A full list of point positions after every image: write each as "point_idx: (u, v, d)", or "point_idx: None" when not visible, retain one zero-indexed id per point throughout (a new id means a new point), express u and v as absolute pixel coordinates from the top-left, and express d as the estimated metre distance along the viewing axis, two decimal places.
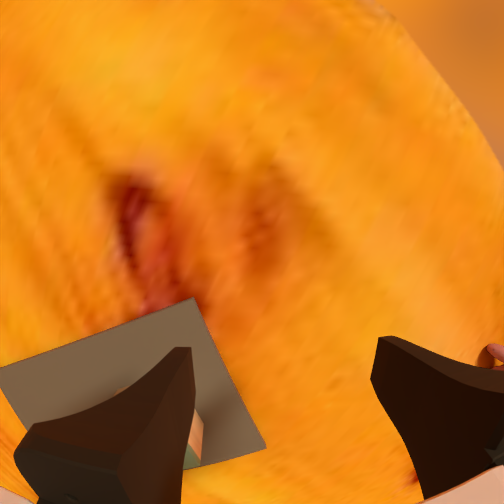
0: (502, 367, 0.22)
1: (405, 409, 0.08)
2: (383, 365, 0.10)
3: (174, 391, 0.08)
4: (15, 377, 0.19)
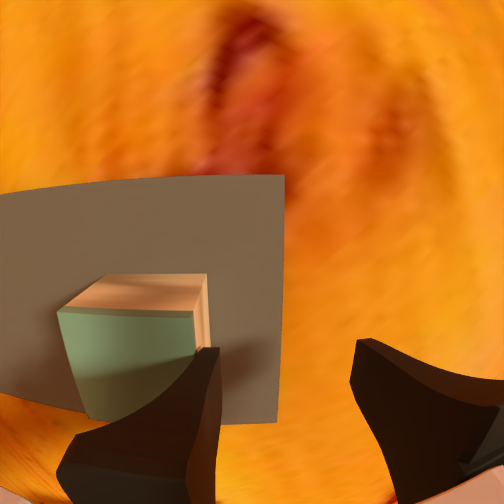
0: None
1: (381, 415, 0.08)
2: (361, 368, 0.10)
3: (210, 392, 0.08)
4: None
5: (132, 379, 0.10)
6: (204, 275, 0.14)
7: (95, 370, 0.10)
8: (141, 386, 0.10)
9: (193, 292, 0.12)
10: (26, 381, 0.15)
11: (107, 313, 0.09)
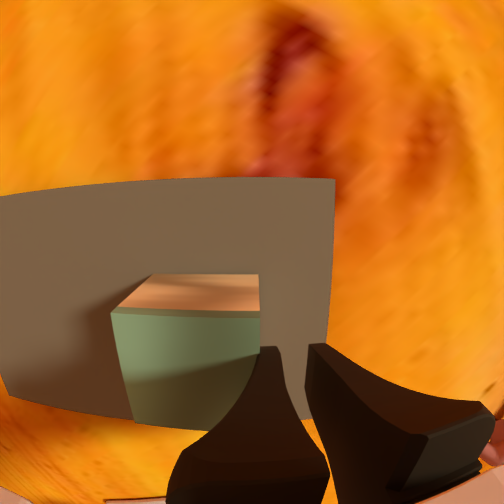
0: None
1: (327, 424, 0.08)
2: (311, 374, 0.10)
3: None
4: None
5: (190, 381, 0.10)
6: (256, 276, 0.14)
7: (149, 373, 0.10)
8: (200, 389, 0.10)
9: (253, 293, 0.12)
10: (54, 387, 0.15)
11: (169, 314, 0.10)
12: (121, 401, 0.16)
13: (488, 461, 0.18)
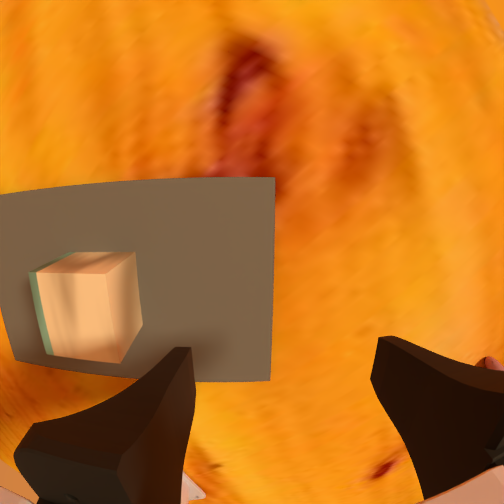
0: None
1: (405, 409, 0.08)
2: (383, 365, 0.10)
3: (174, 391, 0.08)
4: (12, 209, 0.17)
5: None
6: (100, 273, 0.14)
7: None
8: None
9: (62, 271, 0.14)
10: None
11: (55, 259, 0.16)
12: None
13: None
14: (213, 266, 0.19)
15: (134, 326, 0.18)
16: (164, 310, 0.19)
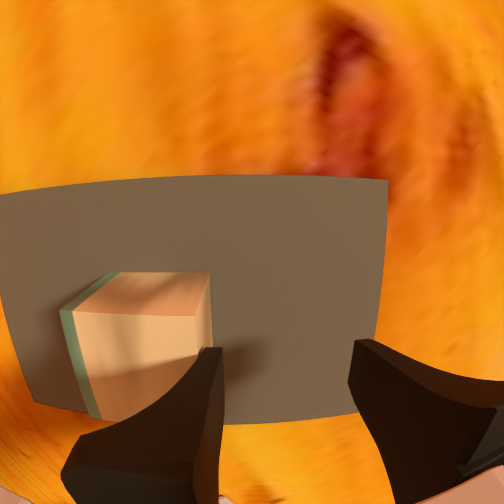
0: None
1: (379, 415, 0.08)
2: (358, 369, 0.10)
3: (214, 392, 0.08)
4: (25, 212, 0.13)
5: None
6: (185, 315, 0.09)
7: None
8: None
9: (117, 311, 0.10)
10: None
11: (94, 285, 0.12)
12: None
13: None
14: (313, 289, 0.15)
15: None
16: (246, 345, 0.15)
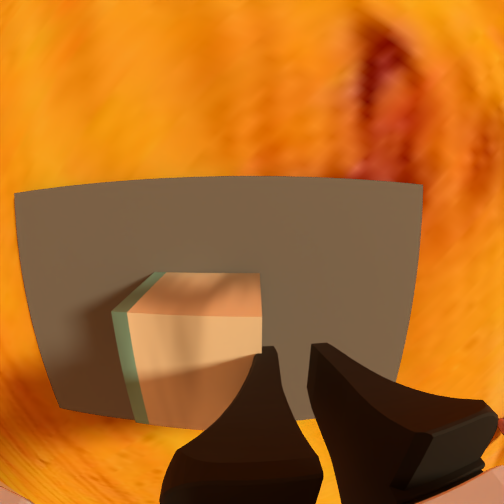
0: None
1: (330, 424, 0.08)
2: (314, 374, 0.10)
3: None
4: (59, 210, 0.13)
5: None
6: (252, 316, 0.10)
7: None
8: None
9: (178, 312, 0.10)
10: (122, 397, 0.16)
11: (143, 285, 0.12)
12: None
13: None
14: (356, 287, 0.15)
15: None
16: (290, 343, 0.16)
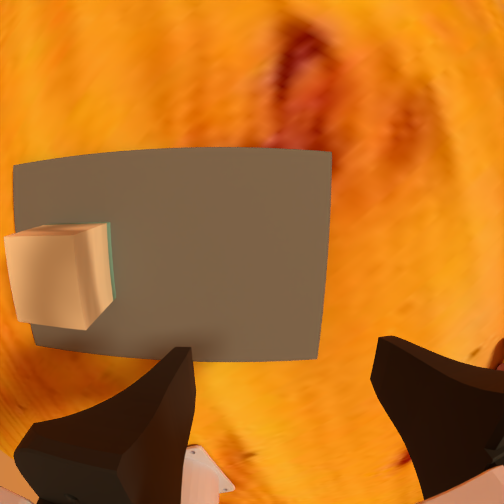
0: None
1: (405, 409, 0.08)
2: (383, 365, 0.10)
3: (174, 391, 0.08)
4: (45, 177, 0.17)
5: None
6: None
7: None
8: None
9: (31, 228, 0.15)
10: (84, 331, 0.19)
11: (81, 223, 0.18)
12: (147, 340, 0.20)
13: None
14: (269, 238, 0.19)
15: (58, 316, 0.14)
16: (215, 284, 0.19)
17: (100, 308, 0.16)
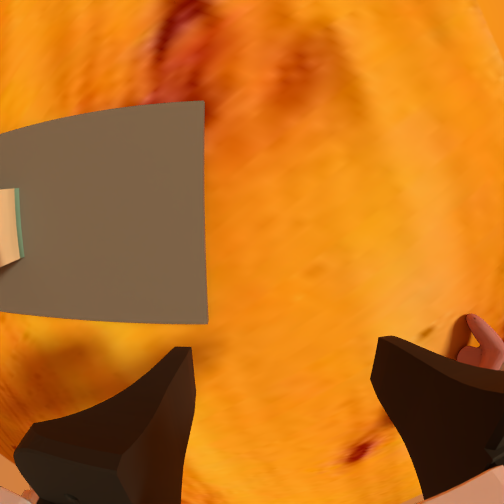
0: (477, 348, 0.21)
1: (405, 409, 0.08)
2: (383, 365, 0.10)
3: (174, 391, 0.08)
4: None
5: None
6: None
7: None
8: None
9: None
10: (4, 291, 0.18)
11: None
12: (49, 298, 0.19)
13: None
14: (142, 191, 0.18)
15: None
16: (97, 239, 0.18)
17: (2, 261, 0.15)
